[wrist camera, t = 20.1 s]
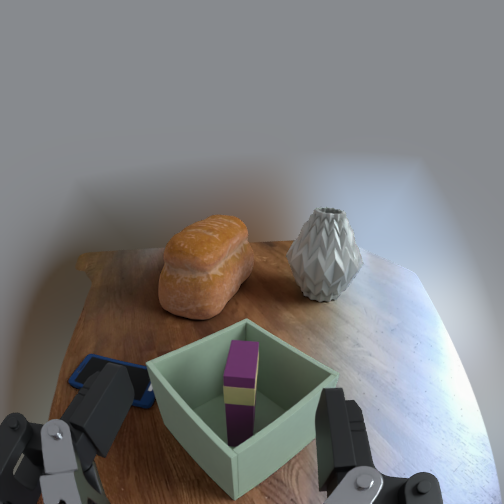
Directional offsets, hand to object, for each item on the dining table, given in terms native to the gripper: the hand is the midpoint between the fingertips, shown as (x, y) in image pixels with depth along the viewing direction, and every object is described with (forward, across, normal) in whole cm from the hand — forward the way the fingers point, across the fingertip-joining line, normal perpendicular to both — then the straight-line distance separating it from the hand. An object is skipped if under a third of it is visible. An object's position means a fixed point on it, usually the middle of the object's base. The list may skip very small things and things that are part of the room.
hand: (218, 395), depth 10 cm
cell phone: (+16, +19, +21) cm, 33 cm away
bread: (+47, +11, +21) cm, 53 cm away
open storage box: (+12, 0, +21) cm, 24 cm away
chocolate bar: (+12, 0, +20) cm, 23 cm away
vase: (+48, -13, +21) cm, 54 cm away
